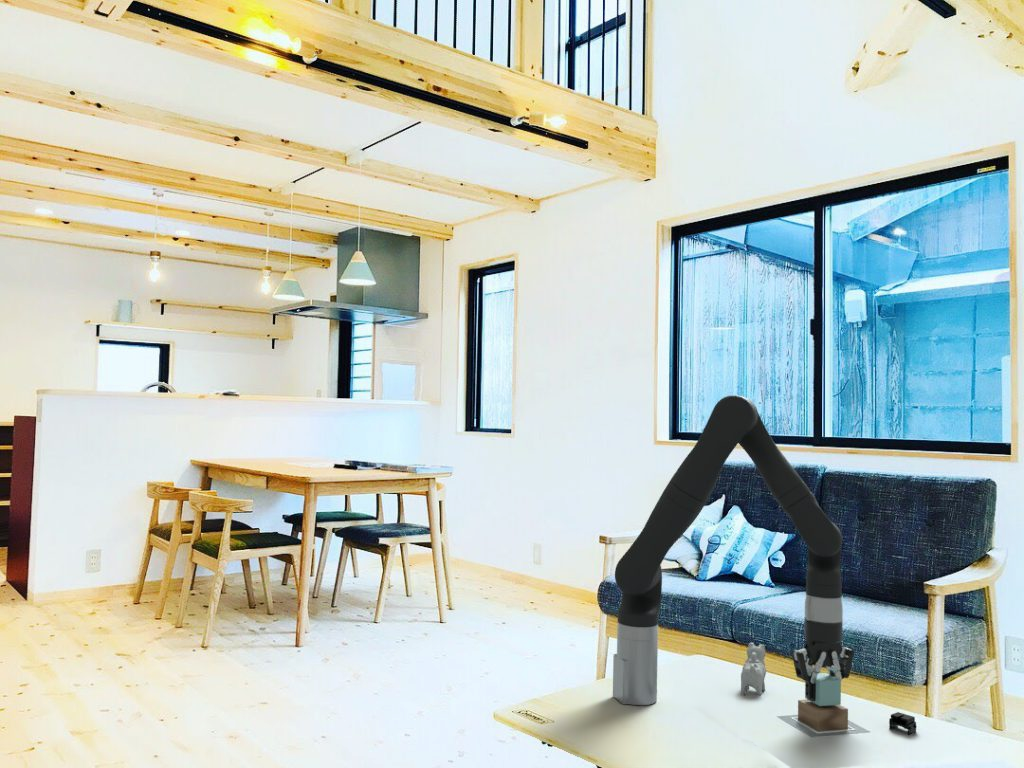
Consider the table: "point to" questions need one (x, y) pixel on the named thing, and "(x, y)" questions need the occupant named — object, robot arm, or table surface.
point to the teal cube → (827, 690)
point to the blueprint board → (814, 733)
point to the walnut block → (822, 716)
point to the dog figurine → (754, 669)
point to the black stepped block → (903, 722)
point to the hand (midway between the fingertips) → (822, 698)
